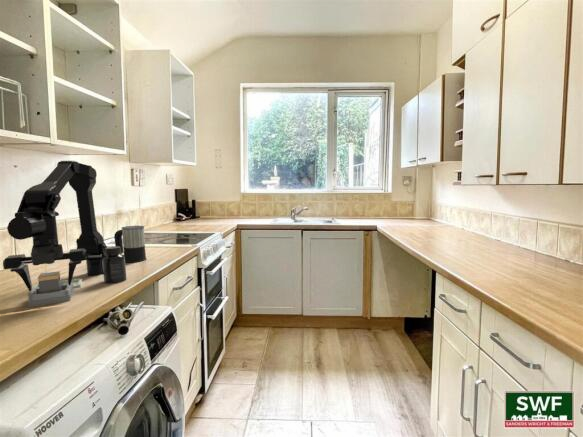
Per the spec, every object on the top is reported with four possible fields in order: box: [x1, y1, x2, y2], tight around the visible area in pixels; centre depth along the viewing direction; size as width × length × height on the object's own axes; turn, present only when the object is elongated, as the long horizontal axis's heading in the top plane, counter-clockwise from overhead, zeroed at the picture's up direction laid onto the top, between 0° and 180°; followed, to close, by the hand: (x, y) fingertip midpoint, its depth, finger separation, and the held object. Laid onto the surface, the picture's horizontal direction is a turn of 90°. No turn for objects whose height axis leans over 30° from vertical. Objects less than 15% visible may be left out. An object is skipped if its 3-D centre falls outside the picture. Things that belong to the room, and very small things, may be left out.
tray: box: [29, 277, 83, 294], centre depth 110 cm, size 9×13×1 cm
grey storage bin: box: [27, 279, 75, 308], centre depth 100 cm, size 12×10×4 cm
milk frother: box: [113, 225, 147, 263], centre depth 145 cm, size 14×16×15 cm
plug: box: [37, 270, 62, 294], centre depth 97 cm, size 5×5×6 cm
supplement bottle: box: [102, 246, 127, 285], centre depth 115 cm, size 7×7×12 cm
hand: (50, 287), depth 97 cm, fingers open, 9 cm apart
